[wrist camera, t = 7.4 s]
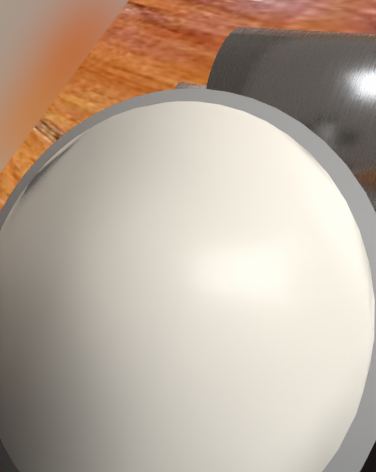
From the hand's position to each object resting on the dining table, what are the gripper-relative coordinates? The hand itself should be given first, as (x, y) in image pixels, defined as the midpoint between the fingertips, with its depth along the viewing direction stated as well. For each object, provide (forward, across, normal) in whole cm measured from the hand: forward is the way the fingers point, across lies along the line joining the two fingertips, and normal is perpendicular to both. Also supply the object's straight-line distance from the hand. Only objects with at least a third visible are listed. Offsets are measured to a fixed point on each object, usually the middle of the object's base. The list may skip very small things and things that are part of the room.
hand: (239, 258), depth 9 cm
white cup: (+4, 0, +6) cm, 7 cm away
